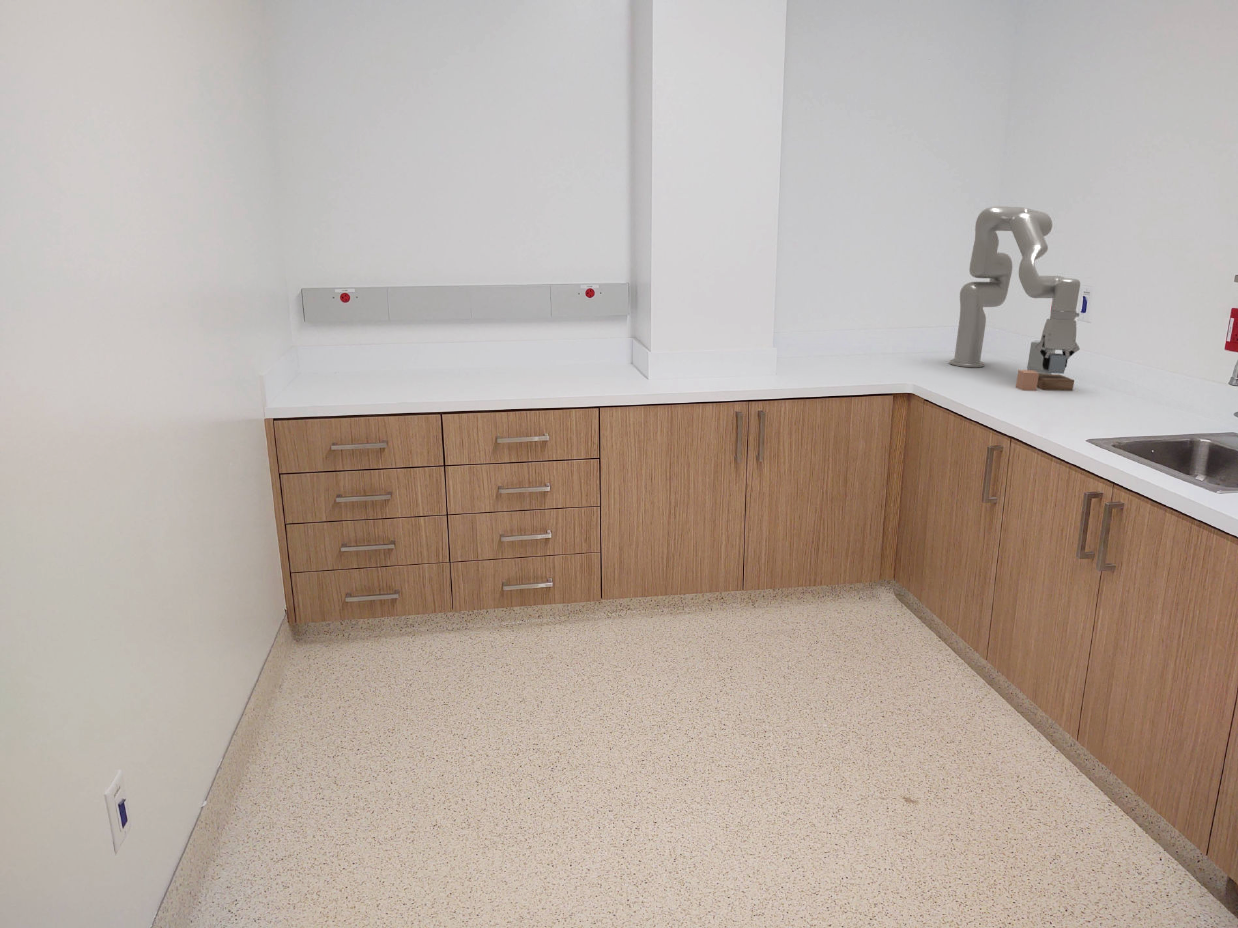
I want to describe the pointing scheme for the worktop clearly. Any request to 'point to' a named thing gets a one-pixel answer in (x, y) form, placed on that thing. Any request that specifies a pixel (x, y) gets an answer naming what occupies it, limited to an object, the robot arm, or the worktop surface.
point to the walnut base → (1055, 382)
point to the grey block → (1056, 363)
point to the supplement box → (1036, 359)
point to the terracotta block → (1027, 380)
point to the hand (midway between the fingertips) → (1053, 368)
